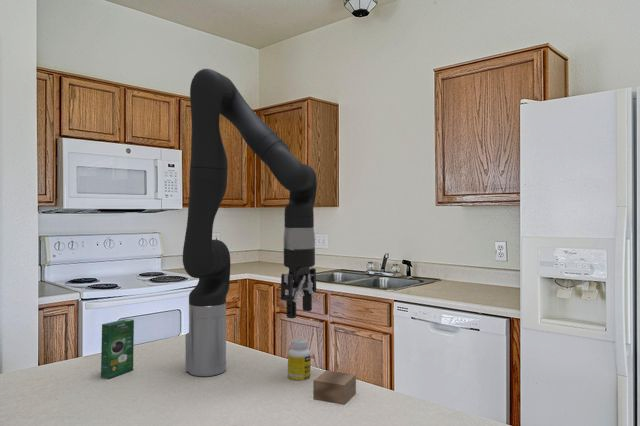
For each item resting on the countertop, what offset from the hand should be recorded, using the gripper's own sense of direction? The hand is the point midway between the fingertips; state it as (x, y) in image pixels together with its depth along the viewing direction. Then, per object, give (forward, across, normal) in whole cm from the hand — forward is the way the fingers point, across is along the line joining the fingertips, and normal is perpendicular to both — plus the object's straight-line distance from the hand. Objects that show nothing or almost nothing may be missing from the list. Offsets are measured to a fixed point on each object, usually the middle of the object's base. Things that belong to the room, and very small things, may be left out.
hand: (299, 314), depth 117 cm
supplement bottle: (+16, 0, 0) cm, 16 cm away
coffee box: (+16, +14, -44) cm, 49 cm away
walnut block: (+15, +8, +12) cm, 21 cm away
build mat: (+16, +6, +10) cm, 20 cm away
